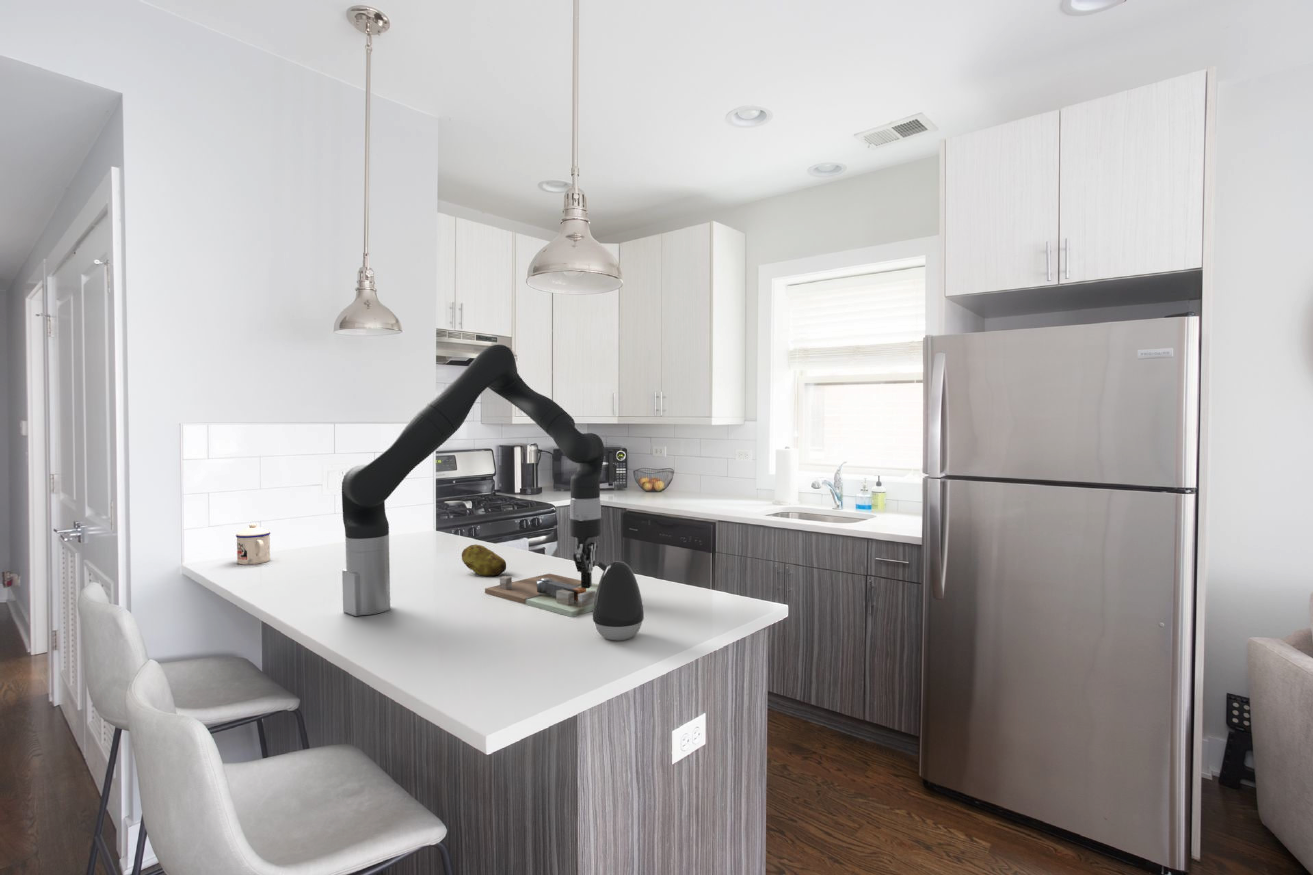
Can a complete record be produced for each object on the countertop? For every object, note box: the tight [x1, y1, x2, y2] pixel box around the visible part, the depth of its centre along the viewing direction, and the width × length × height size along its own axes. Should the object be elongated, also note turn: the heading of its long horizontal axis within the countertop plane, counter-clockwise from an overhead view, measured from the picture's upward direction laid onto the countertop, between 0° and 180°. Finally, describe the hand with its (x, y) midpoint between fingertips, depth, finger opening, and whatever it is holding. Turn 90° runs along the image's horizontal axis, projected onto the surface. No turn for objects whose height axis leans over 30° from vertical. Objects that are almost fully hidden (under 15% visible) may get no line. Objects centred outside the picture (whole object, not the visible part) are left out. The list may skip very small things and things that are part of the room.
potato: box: [461, 544, 507, 577], centre depth 193 cm, size 8×13×8 cm, turn 52°
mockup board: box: [484, 572, 599, 618], centre depth 170 cm, size 21×32×4 cm, turn 49°
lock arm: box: [537, 578, 586, 601], centre depth 163 cm, size 4×15×3 cm, turn 49°
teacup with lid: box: [235, 523, 271, 566], centre depth 210 cm, size 12×9×12 cm
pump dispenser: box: [592, 560, 645, 642], centre depth 138 cm, size 10×10×15 cm
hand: (586, 587), depth 167 cm, fingers closed
